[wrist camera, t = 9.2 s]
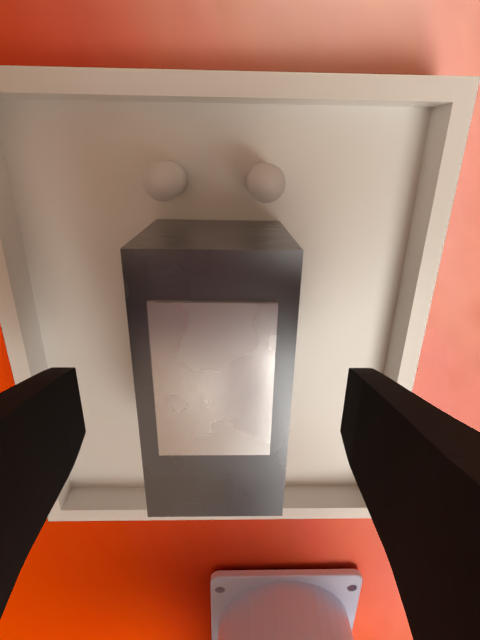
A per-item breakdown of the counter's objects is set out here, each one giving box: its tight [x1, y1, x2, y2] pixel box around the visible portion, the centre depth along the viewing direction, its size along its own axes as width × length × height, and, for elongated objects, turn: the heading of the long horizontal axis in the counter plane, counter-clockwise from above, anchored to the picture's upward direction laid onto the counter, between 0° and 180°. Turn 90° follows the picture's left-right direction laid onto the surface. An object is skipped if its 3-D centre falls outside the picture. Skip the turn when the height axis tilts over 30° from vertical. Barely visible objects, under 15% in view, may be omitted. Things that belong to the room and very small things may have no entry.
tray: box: [0, 65, 480, 521], centre depth 14 cm, size 16×14×3 cm
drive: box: [120, 219, 304, 517], centre depth 12 cm, size 8×4×5 cm, turn 179°
